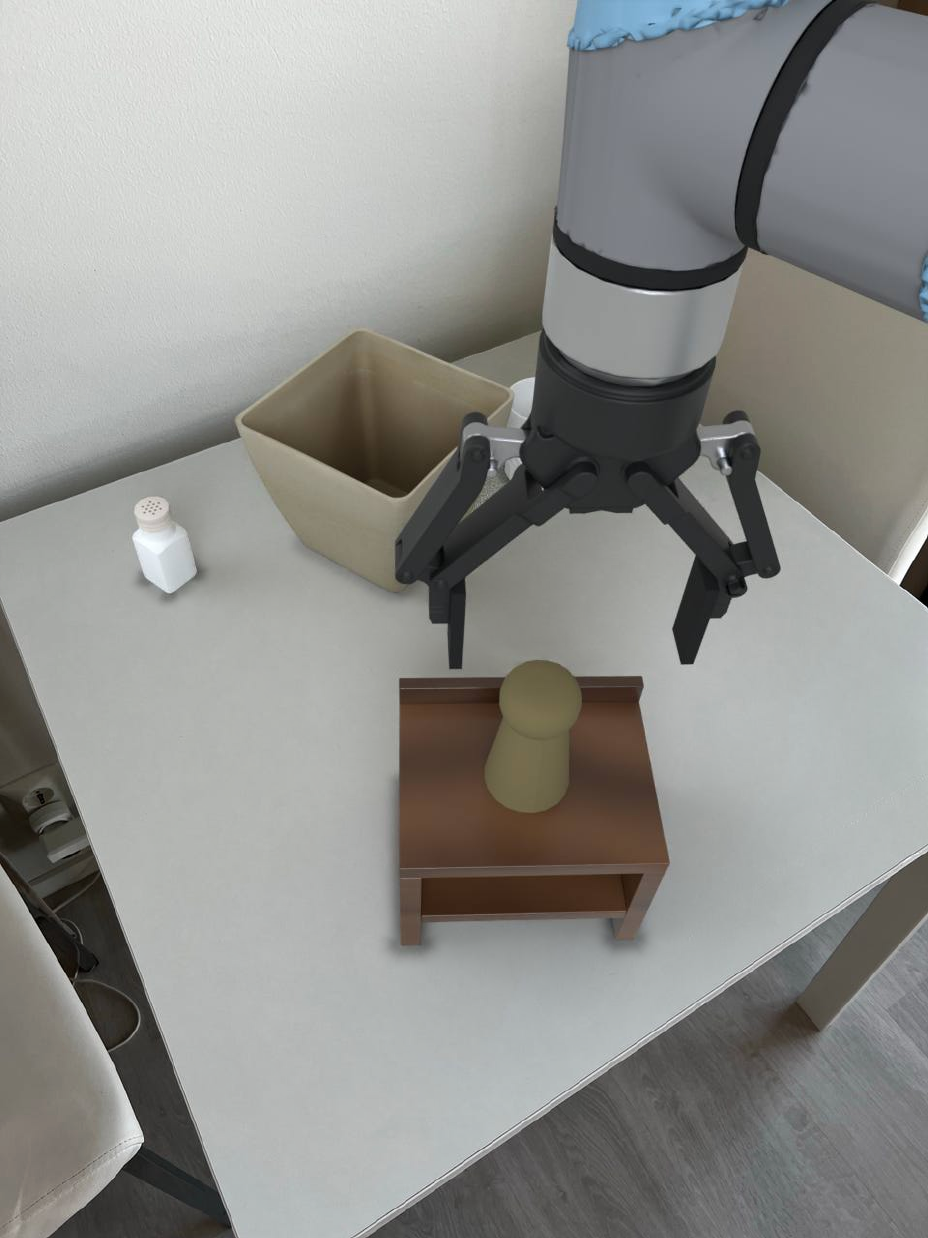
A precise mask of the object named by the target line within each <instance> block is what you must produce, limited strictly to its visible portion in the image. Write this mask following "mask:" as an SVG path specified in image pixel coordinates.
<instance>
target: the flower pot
mask: <svg viewBox="0 0 928 1238" xmlns="http://www.w3.org/2000/svg"><path fill="white" fill-rule="evenodd" d="M514 396H515V394H514V392H513V390H512V389H510V387H508V386H505V385H503V384H500V383H499V382H496V381H493V380H491V379H488V378H485V377H483V376H481V375H478V374H476V373H474V372H472V371H469V370H467V369H465V368H462V367H459V366H457V365H454V364H452V363H450V362H448V361H446V360H443V359H440V358H438V357H436V356H434V355H431V354H430V353H426V352H424V351H422V350H419V349H417V348H415V347H413V346H410V345H408V344H406V343H404V342H401V341H398V340H397V339H394V338H393V337H390V336H387V335H385V334H382V333H380V332H377V331H376V330H374V329H371V328H369V327H365V326H364V327H363V326H359V327H355V328H353V329H351V330H350V331H348V332H347V333H346V334H345V335H343V336H341V337H340V338H339V339H337V340H336V341H335V342H333V343H332V344H331V345H329V346H328V347H327V348H326V349H324V350H323V351H322V352H320V353H319V354H318V355H316V356H315V357H313V358H312V359H311V360H310V361H308V362H307V363H305V364H304V365H303V366H301V367H300V368H299V369H298V370H296V371H295V372H294V373H292V374H291V375H289V376H288V377H287V378H285V379H284V380H282V381H281V382H280V383H279V384H277V385H276V386H275V387H273V388H271V390H269V391H268V392H267V393H264V395H263V396H261V397H259V399H257V400H256V401H255V402H254V403H252V404H251V405H249V406H248V407H247V408H246V409H244V410H242V411H241V412H240V413H239V414H237V415H236V417H235V418H234V423H235V426H236V428H237V430H238V434H239V437H240V438H241V441H242V443H243V446H244V448H245V450H246V453H247V455H248V457H249V459H250V461H251V464H252V465H253V467H254V469H255V471H256V474H257V475H258V477H259V479H260V480H261V483H262V484H263V487H264V488H265V489H266V491H267V494H268V496H270V498H271V500H272V501H273V503H274V505H275V506H276V508H277V509H278V511H279V512H280V514H281V516H282V517H283V519H284V520H285V521H286V523H287V524H288V526H289V528H290V529H291V530H292V531H293V533H294V534H295V535H296V537H297V538H298V539H299V540H300V542H301V543H302V545H303V546H304V547H306V548H308V549H310V550H312V551H313V552H316V553H317V554H319V555H321V556H323V557H325V558H326V559H328V560H330V561H332V562H334V563H336V564H337V565H339V566H341V567H343V568H345V569H347V570H348V571H350V572H353V573H354V574H355V575H358V576H360V577H362V579H363V578H364V579H366V580H367V581H369V582H371V583H373V584H374V585H376V586H379V587H381V588H382V589H384V590H386V591H388V592H391V593H399V592H401V591H403V590H404V589H405V588H406V587H407V586H408V585H409V584H401V583H399V582H398V581H397V580H396V578H395V541H396V539H397V538H398V536H399V535H400V533H401V532H402V530H403V529H404V527H405V526H406V524H407V523H408V521H409V520H410V518H411V517H412V515H413V514H414V512H415V511H416V509H417V508H418V506H419V505H420V503H421V502H422V500H423V499H424V497H425V496H426V494H427V493H428V491H429V490H430V488H431V487H432V485H433V484H434V482H435V481H436V480H437V478H438V477H439V475H440V474H441V472H442V471H443V469H444V468H445V466H446V465H447V463H448V462H449V460H450V459H451V457H452V456H453V454H454V453H455V451H456V450H457V447H458V441H459V436H460V430H461V425H462V420H463V418H464V417H465V416H466V415H467V414H469V413H471V412H479V413H482V414H483V415H485V416H486V418H487V421H488V426H497V427H506V426H507V423H508V420H509V416H510V413H511V409H512V405H513V401H514ZM488 479H489V478H488V477H486V481H485V484H484V486H483V488H482V490H481V492H480V494H479V495H478V497H477V498H476V500H475V501H474V503H473V504H472V505H471V507H470V508H469V509H468V511H467V512H466V514H465V515H464V516H463V518H462V519H461V520H460V522H461V521H462V520H463V519H465V518H466V517H467V516H468V515H469V514H471V513H472V512H473V511H474V508H475V507H476V505H477V502H478V500H479V499H480V496H481V494H482V492H483V489H484V488H485V485H486V483H487V481H488ZM460 522H459V523H460ZM459 523H458V524H459Z"/></svg>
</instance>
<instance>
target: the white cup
mask: <svg viewBox="0 0 928 1238" xmlns="http://www.w3.org/2000/svg"><path fill="white" fill-rule="evenodd" d="M534 384H535V376H532V377H527V378H524V379H523V378H522V379H520V380H519V381H517V382H515V383H514V384H512V385H511V386H510V387H509V388H510V389H512V390H513V392H514V394H515V396H514V401H513V405H512V409H511V413H510V416H509V420H508V423H507V426H506V427H509V428H521V426H522V425H523V424H524V422H525V421H526V420H527V418H528V417H529V415H530V412H531V409H532V402H533V393H534ZM521 464H522V462H521V460H520V458H511V459H509V460H507V461H506V462H505V463H504V473H505V475H506V476H507V478H508V480H509V481H510V480H511V479H512V477H513V474H514V472H515V470H516V468H517V467H518V466H519V465H521ZM542 491H544V489H543V488H542Z"/></svg>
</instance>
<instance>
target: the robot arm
mask: <svg viewBox="0 0 928 1238" xmlns="http://www.w3.org/2000/svg"><path fill="white" fill-rule="evenodd" d="M574 14H575V15H574V20H573V26H572V27H571V28H570V29H569V32H568V35H567V43H566V47H567V48H568V65H567V78H566V93H565V106H564V107H565V108H564V121H563V134H562V147H561V157H560V167H559V179H558V187H557V188H558V189H557V199H556V205H555V207H554V208H553V215H554V216H553V226H552V230H551V231H552V232H551V240H550V246H549V247H550V248H549V256H548V265H547V271H546V281H545V288H544V297H543V305H542V312H541V313H542V317H541V323H542V327H543V328H542V329H541V332H540V335H539V340H538V347H537V348H538V349H537V358H536V367H535V374H534V375H535V376H534V377H535V384H534V393H533V402H532V409H531V412H530V415H529V417H528V418H527V420H526V421H525V422H524V424H523V425H522V426H521V428H509V427H497V426H488V421H487V418H486V416H485V415H483V414H482V413H479V412H471V413H469V414H467V415H466V416H465V417H464V418H463V420H462V425H461V430H460V436H459V441H458V447H457V450H456V451H455V453H454V454H453V456H452V457H451V459H450V460H449V462H448V463H447V465H446V466H445V468H444V469H443V471H442V472H441V474H440V475H439V477H438V478H437V480H436V481H435V482H434V484H433V485H432V487H431V488H430V490H429V491H428V493H427V494H426V496H425V497H424V499H423V500H422V502H421V503H420V505H419V506H418V508H417V509H416V511H415V512H414V514H413V515H412V517H411V518H410V520H409V521H408V523H407V524H406V526H405V527H404V529H403V530H402V532H401V533H400V535H399V536H398V538H397V539H396V541H395V578H396V580H397V581H398V582H399V583H401V584H408V585H411V584H414V583H415V582H417V581H419V582H422V583H424V584H425V585H426V586H427V587H428V618H429V620H430V622H431V624H432V625H447V629H446V630H447V631H446V634H447V636H446V637H447V657H448V670H463V661H464V660H463V659H464V643H465V641H464V640H465V639H464V638H465V624H466V623H465V621H466V604H467V603H466V602H467V587H466V578H467V576H469V575H470V574H471V573H472V572H474V571H475V570H477V569H478V568H479V567H481V566H482V565H483V564H484V563H486V562H487V561H488V560H489V559H491V558H492V557H493V556H494V555H496V554H497V553H498V552H500V551H501V550H502V549H503V548H505V547H506V546H508V544H510V543H511V542H512V541H515V539H516V538H518V537H519V536H520V535H521V534H523V533H524V532H526V530H528V529H529V528H530V527H532V526H535V527H541V526H543V525H544V524H546V523H547V522H548V521H550V520H551V519H552V518H554V517H555V516H556V515H557V514H559V513H560V512H561V511H563V510H564V509H567V510H568V512H569V513H568V514H569V515H576V514H577V515H581V514H582V515H585V514H590V513H595V512H600V511H604V512H608V513H613V514H633V512H634V509H638V508H640V507H642V506H645V505H646V507H647V508H648V509H649V510H650V511H651V512H652V513H653V514H654V515H655V517H656V518H657V519H658V520H659V521H660V522H661V523H662V525H664V526H666V525H668V526H669V527H670V528H671V529H672V531H674V533H675V534H676V535H677V536H678V537H679V538H680V540H681V541H682V542H683V543H684V544H685V545H686V546H687V547H688V548H689V549H690V551H692V553H693V554H694V555H695V556H694V559H693V561H692V565H691V569H690V572H689V576H688V578H687V581H686V584H685V587H684V590H683V593H682V596H681V600H680V603H679V606H678V609H677V613H676V616H675V619H674V621H673V625H672V628H671V630H672V636H673V638H674V639H673V640H674V643H675V647H676V651H677V655H678V658H679V659H678V660H679V663H680V666H682V665H685V666H687V665H690V666H691V665H695V661H696V658H697V656H698V653H699V650H700V648H701V644H702V642H703V639H704V637H705V634H706V630H707V629H708V625H709V623H710V620H711V619H712V620H713V619H715V620H716V619H722V618H723V617H724V616H725V615H726V614H727V613H728V609H729V607H730V604H731V601H732V600H733V599H737V598H740V597H742V596H744V595H745V594H746V593H747V592H748V589H749V588H748V585H747V582H746V578H747V577H750V576H754V575H758V577H759V578H761V579H772V578H774V577H776V576H777V575H779V574H780V572H781V571H782V569H781V567H782V566H781V563H780V561H779V556H778V554H777V550H776V546H775V543H774V540H773V536H772V533H771V528H770V526H769V523H768V519H767V516H766V512H765V508H764V505H763V502H762V499H761V495H760V492H759V488H758V485H757V482H756V476H757V473H758V468H759V467H758V466H759V462H760V458H761V453H762V451H761V449H762V448H761V446H760V444H759V441H758V438H757V436H756V433H755V431H754V428H753V426H752V423H751V420H750V418H749V415H748V414H747V413H746V411H743V410H741V409H740V410H739V409H738V410H733V411H730V412H729V413H727V414H726V415H725V416H724V417H723V420H722V424H714V425H704V426H699V425H700V422H701V420H702V415H703V412H704V408H705V405H706V402H707V397H708V394H709V390H710V387H711V383H712V379H713V376H714V373H715V369H716V366H717V365H716V364H717V355H718V353H719V351H720V348H721V346H722V345H723V342H724V339H725V336H726V331H727V327H728V324H729V320H730V316H731V312H732V308H733V304H734V301H735V298H736V293H737V289H738V286H739V283H740V278H741V275H742V270H743V266H744V264H745V260H746V258H747V254H748V251H749V249H750V250H754V251H755V252H758V253H760V254H761V255H764V256H771V257H774V258H775V259H778V260H780V261H783V262H785V263H787V264H789V265H791V266H794V267H796V268H798V269H801V270H802V271H804V272H805V271H806V272H807V273H810V274H812V275H815V276H817V277H819V278H822V279H824V280H825V281H829V282H830V283H833V284H835V285H837V286H840V287H842V288H844V289H847V290H848V291H852V292H853V293H856V294H858V295H861V296H862V297H865V298H867V299H870V300H872V301H874V302H876V303H879V304H882V305H883V306H886V307H889V308H890V309H892V310H895V311H898V312H899V313H902V314H904V315H906V316H909V317H911V318H912V319H915V320H918V321H920V322H922V323H924V324H927V325H928V15H924V14H919V13H916V12H911V11H907V10H904V9H899V8H894V7H890V6H886V5H882V4H880V3H879V2H878V1H875V0H577V2H576V7H575V13H574ZM700 457H705V458H707V459H708V460H709V464H710V466H711V468H712V469H714V470H715V471H719V472H720V475H722V476H724V477H725V479H726V482H727V485H728V488H729V492H730V494H731V497H732V501H733V504H734V507H735V510H736V512H737V516H738V519H739V522H740V525H741V528H742V532H743V535H744V538H745V541H741V542H737V543H734V542H733V541H732V540H731V538H730V537H729V536H728V535H727V533H725V531H724V530H723V529H722V528H721V526H720V525H719V524H718V523H717V521H715V519H714V518H713V517H712V516H711V515H710V514H709V512H708V511H707V510H706V509H705V507H704V506H703V505H702V504H701V503H700V501H698V499H697V497H695V496H694V494H693V493H692V492H691V491H690V489H689V488H688V487H687V486H686V485H685V484H684V482H683V481H682V480H681V479H680V476H682V475H683V474H684V473H685V472H687V471H688V470H689V469H690V468H691V467H693V466H694V465H695V464H696V463H697V461H698V460H699V458H700ZM511 458H520V460H521V462H522V464H521V465H519V466H518V467H517V468H516V470H515V472H514V474H513V477H512V479H511V480H509V481H508V482H506V484H504V485H502V487H501V488H499V489H498V490H497V491H496V492H495V493H493V494H492V495H491V496H490V497H488V498H487V499H486V500H485V501H483V503H481V504H480V505H479V506H478V507H476V508H475V509H473V510H472V512H471V514H469V515H468V516H467V517H466V518H465V519H463V520H462V521H461V522H460V520H461V519H462V518H463V516H464V515H465V514H466V512H467V511H468V509H469V508H470V507H471V505H472V504H473V503H474V501H475V500H476V498H477V497H478V495H479V494H480V492H481V490H482V488H483V486H484V487H485V485H486V483H485V481H486V477H488V479H494V478H497V476H498V475H499V471H500V470H501V469H502V467H503V466H504V465H505V462H506V461H507V460H509V459H511ZM486 482H487V481H486ZM484 484H485V485H484ZM542 488H543V489H544V490H542ZM483 489H484V488H483ZM482 491H483V490H482ZM481 493H482V492H481ZM480 495H481V494H480ZM459 522H460V523H459ZM458 523H459V524H458Z"/></svg>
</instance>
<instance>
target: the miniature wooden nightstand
mask: <svg viewBox="0 0 928 1238" xmlns="http://www.w3.org/2000/svg"><path fill="white" fill-rule="evenodd" d="M505 678H506V676H491V677H490V676H479V677H478V676H475V677H471V676H469V677H468V676H467V677H466V676H465V677H399V678H398V698H399V699H398V703H399V705H398V707H399V709H398V710H399V711H398V713H399V714H398V724H399V725H398V726H399V728H398V759H399V760H398V772H399V773H398V887H399V888H398V890H399V924H400V925H399V926H400V927H399V928H400V931H399V932H400V946H421V944H422V943H421V942H422V940H421V937H422V923H453V922H457V923H459V922H460V923H461V922H497V921H498V922H499V921H503V922H504V921H541V920H543V921H544V920H585V919H587V920H588V919H611V923H612V924H611V925H612V929H613V938H614V940H615V941H633V940H635V938H636V935H637V934H638V932H639V929H640V927H641V925H642V923H643V921H644V919H645V917H646V915H647V913H648V910H649V908H650V906H651V904H652V902H653V900H654V898H655V897H656V894H657V892H658V890H659V888H660V885H661V883H662V881H663V880H664V877H665V875H666V873H667V871H668V868H669V867H670V864H671V861H670V856H669V851H668V846H667V845H668V844H667V841H666V840H667V839H666V836H665V831H664V830H665V829H664V825H663V820H662V814H661V809H660V804H659V799H658V794H657V788H656V784H655V779H654V773H653V767H652V763H651V756H650V752H649V747H648V741H647V735H646V732H645V726H644V721H643V715H642V710H641V705H640V700H641V697H642V694H643V691H644V688H645V684H644V678H643V676H642V675H615V676H614V675H601V676H600V675H596V676H595V675H594V676H592V675H591V676H585V675H583V676H574V678H575V679H576V680H577V682H578V685H579V687H580V689H581V695H582V707H581V710H580V713H579V716H578V719H577V721H576V722H575V723H574V724H573V726H572V727H571V728H570V729H569V785H568V788H567V791H566V794H565V795H564V796H563V798H562V799H561V800H560V801H559V802H558V804H556V805H554V806H553V807H551V808H549V809H548V810H545V811H540V812H536V813H524V812H518V811H515V810H512V809H509V808H507V807H505V806H504V805H502V804H501V803H500V802H498V801H497V800H496V799H495V798H494V797H493V795H492V794H491V793H490V791H489V790H488V788H487V785H486V782H485V778H484V772H485V764H486V761H487V759H488V756H489V753H490V751H491V748H492V745H493V743H494V740H495V737H496V735H497V732H498V729H499V727H500V724H501V721H502V719H503V715H502V712H501V709H500V706H499V698H500V688H501V686H502V684H503V681H504V679H505Z"/></svg>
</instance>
